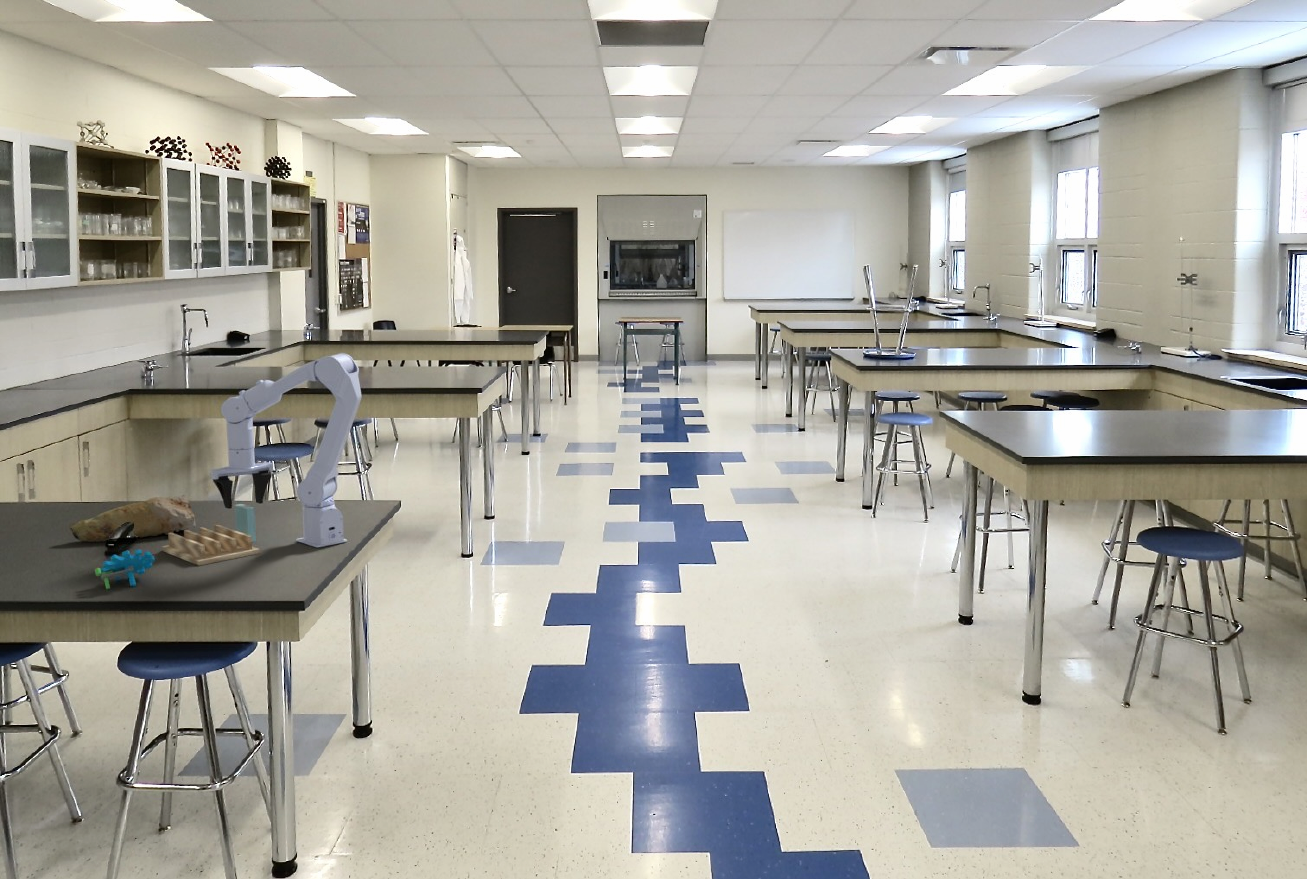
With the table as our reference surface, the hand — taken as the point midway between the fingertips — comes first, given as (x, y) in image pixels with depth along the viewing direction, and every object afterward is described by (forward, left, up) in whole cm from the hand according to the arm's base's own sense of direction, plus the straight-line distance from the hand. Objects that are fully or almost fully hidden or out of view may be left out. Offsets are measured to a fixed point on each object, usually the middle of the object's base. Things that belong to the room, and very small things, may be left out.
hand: (244, 505), depth 261 cm
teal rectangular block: (0, 0, -8) cm, 8 cm away
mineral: (+21, +17, -9) cm, 29 cm away
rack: (-5, +11, -8) cm, 15 cm away
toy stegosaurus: (-16, +34, -9) cm, 39 cm away
